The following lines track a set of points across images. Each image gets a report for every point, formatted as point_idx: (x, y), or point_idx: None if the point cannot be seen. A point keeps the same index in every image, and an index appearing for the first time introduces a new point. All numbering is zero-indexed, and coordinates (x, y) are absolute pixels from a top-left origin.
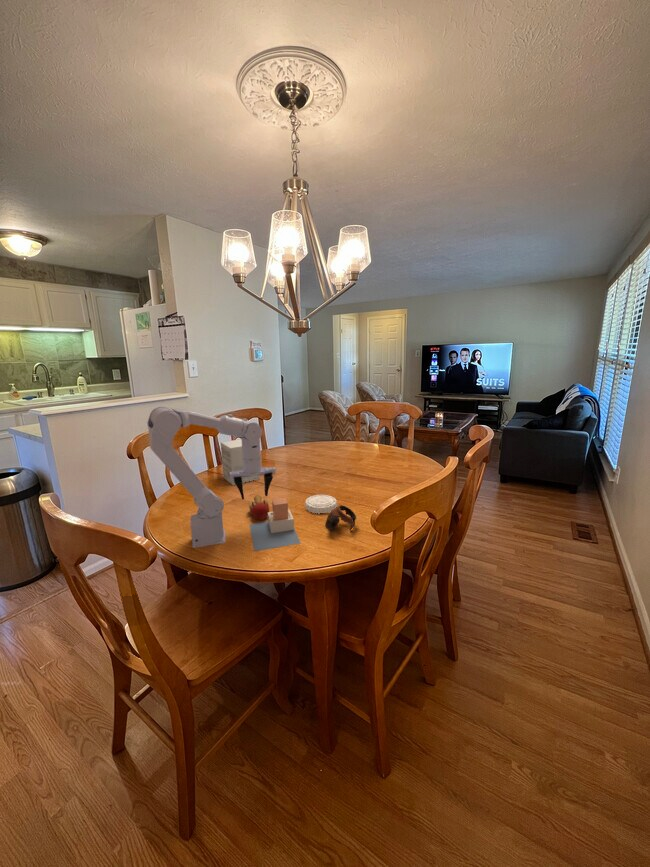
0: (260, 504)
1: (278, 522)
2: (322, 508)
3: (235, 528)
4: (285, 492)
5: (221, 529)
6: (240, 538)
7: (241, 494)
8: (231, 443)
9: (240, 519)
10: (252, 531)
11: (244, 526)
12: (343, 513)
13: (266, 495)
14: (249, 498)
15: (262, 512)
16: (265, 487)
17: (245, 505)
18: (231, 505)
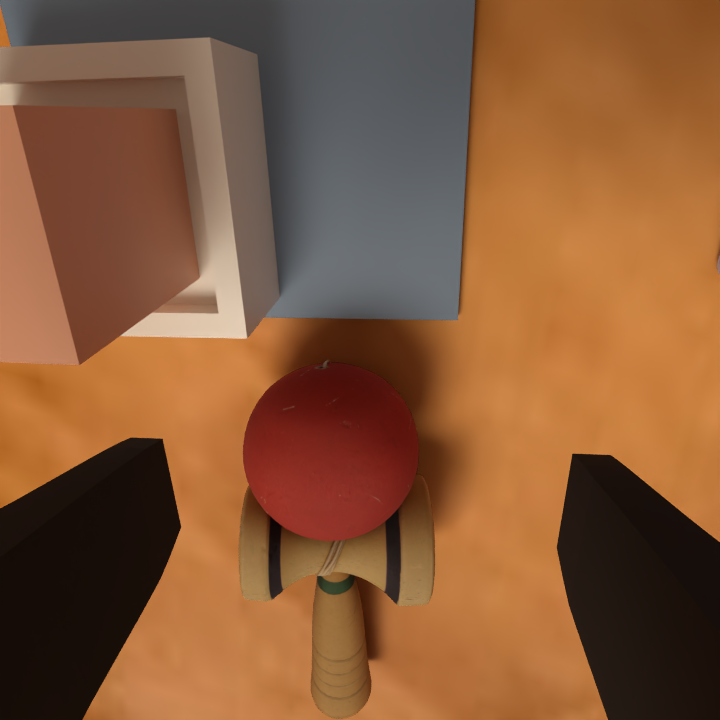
0: (310, 480)
1: (118, 42)
2: None
3: (597, 300)
4: (142, 706)
5: None
6: (592, 64)
7: (676, 515)
8: None
9: (520, 447)
10: (448, 159)
11: (506, 312)
12: None
13: (137, 440)
14: (401, 716)
15: (309, 384)
16: (46, 580)
17: (444, 639)
18: (550, 672)
